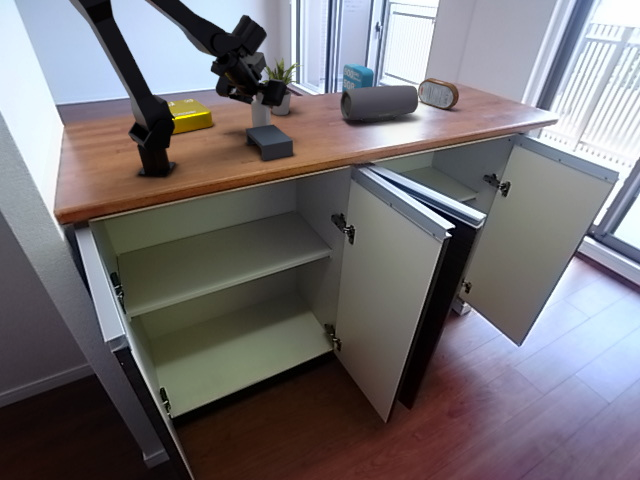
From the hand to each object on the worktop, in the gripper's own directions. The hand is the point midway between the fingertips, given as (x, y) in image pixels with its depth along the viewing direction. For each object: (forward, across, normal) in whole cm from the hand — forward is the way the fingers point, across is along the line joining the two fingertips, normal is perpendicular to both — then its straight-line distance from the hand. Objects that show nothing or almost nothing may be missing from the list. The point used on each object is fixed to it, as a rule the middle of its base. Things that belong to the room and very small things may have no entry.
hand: (263, 105), depth 104 cm
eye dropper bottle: (+4, 0, +6) cm, 7 cm away
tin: (+38, -41, -29) cm, 63 cm away
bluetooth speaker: (+22, -27, -12) cm, 37 cm away
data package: (+30, -16, -21) cm, 40 cm away
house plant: (+15, +2, -6) cm, 16 cm away
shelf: (-3, -8, +13) cm, 16 cm away
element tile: (0, +24, +10) cm, 26 cm away
